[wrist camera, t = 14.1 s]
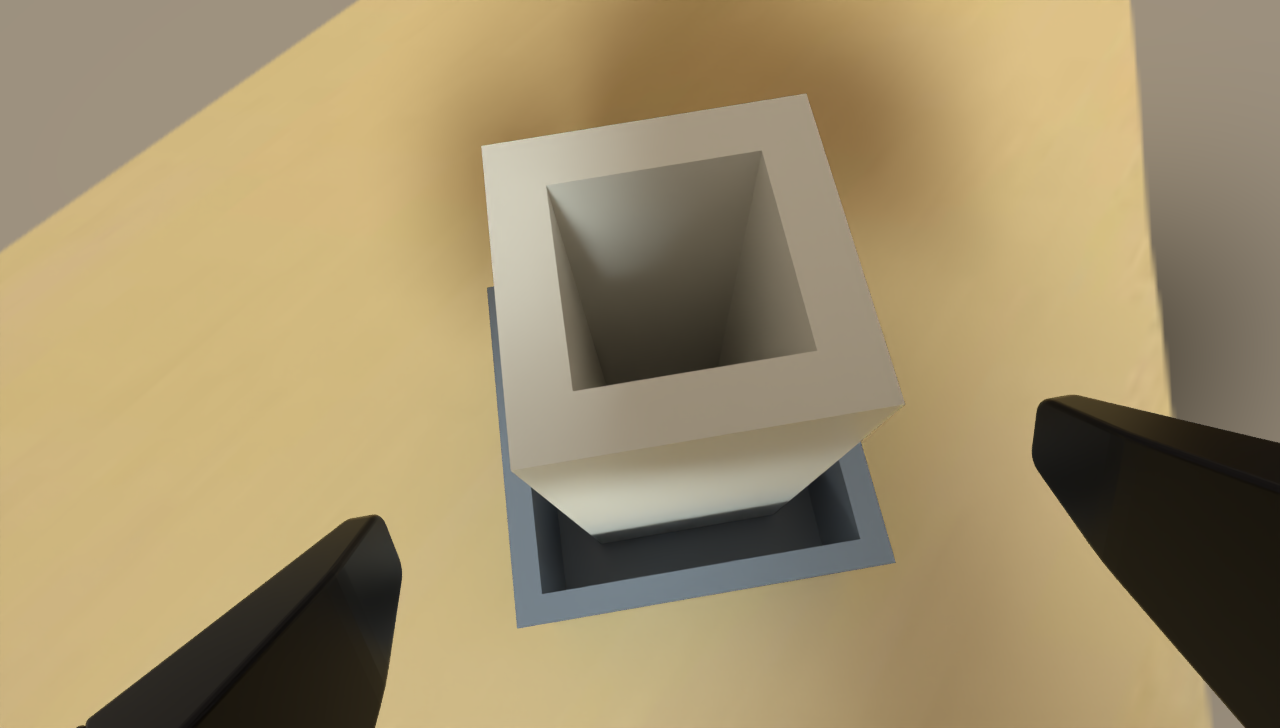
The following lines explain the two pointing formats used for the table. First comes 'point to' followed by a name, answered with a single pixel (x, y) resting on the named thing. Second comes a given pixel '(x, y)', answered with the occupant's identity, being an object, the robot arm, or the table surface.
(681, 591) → the low crate
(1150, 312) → the table surface
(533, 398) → the white square vase
